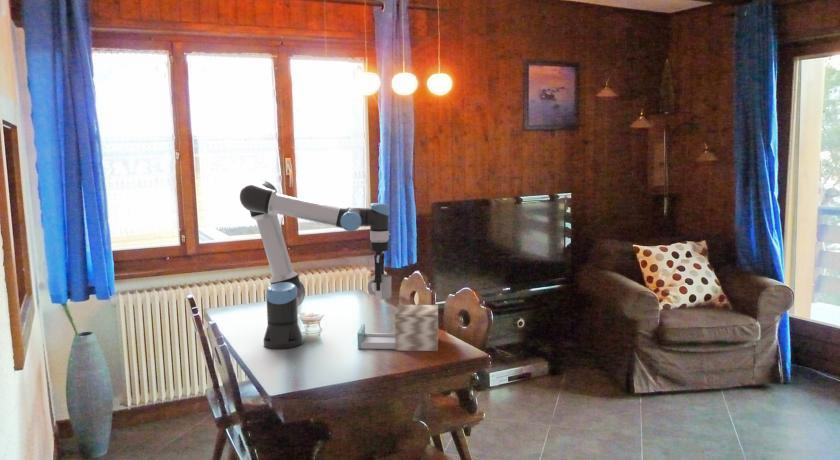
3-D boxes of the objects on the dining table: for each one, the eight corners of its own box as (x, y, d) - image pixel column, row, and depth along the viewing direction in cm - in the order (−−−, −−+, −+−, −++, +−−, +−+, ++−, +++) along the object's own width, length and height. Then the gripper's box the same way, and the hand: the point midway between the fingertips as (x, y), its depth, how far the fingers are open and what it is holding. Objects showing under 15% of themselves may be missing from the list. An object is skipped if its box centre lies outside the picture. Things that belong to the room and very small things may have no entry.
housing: (395, 350, 247) (395, 314, 245) (398, 338, 262) (398, 304, 260) (437, 350, 246) (437, 314, 244) (438, 339, 261) (438, 305, 259)
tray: (357, 348, 248) (357, 333, 248) (362, 338, 261) (361, 324, 261) (407, 349, 248) (406, 333, 247) (409, 339, 261) (408, 324, 260)
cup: (393, 298, 265) (393, 277, 264) (369, 300, 262) (369, 278, 261) (388, 294, 272) (388, 273, 271) (365, 296, 269) (365, 275, 268)
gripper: (386, 244, 255) (386, 301, 257) (390, 237, 275) (390, 290, 277) (367, 244, 255) (367, 301, 258) (373, 237, 275) (373, 290, 278)
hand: (379, 295), depth 268 cm, fingers closed on cup, 7 cm apart
